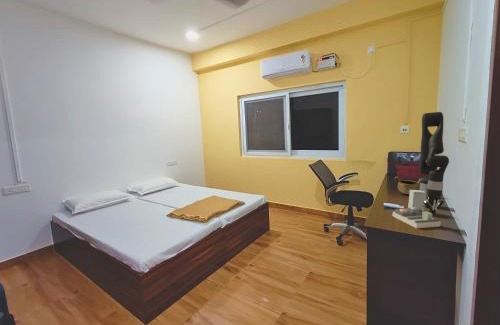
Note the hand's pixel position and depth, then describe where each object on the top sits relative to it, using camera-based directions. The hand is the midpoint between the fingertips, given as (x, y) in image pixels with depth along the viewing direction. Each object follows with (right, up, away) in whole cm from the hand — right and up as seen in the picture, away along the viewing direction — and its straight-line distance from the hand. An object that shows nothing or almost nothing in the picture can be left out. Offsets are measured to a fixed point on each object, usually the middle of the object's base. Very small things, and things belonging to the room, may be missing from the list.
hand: (432, 215), depth 148 cm
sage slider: (-3, -3, 0) cm, 4 cm away
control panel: (-6, -5, +6) cm, 10 cm away
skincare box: (+6, -2, +24) cm, 25 cm away
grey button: (-3, 0, +11) cm, 11 cm away
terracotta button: (-11, -1, +10) cm, 15 cm away
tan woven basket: (+28, +4, +66) cm, 71 cm away
